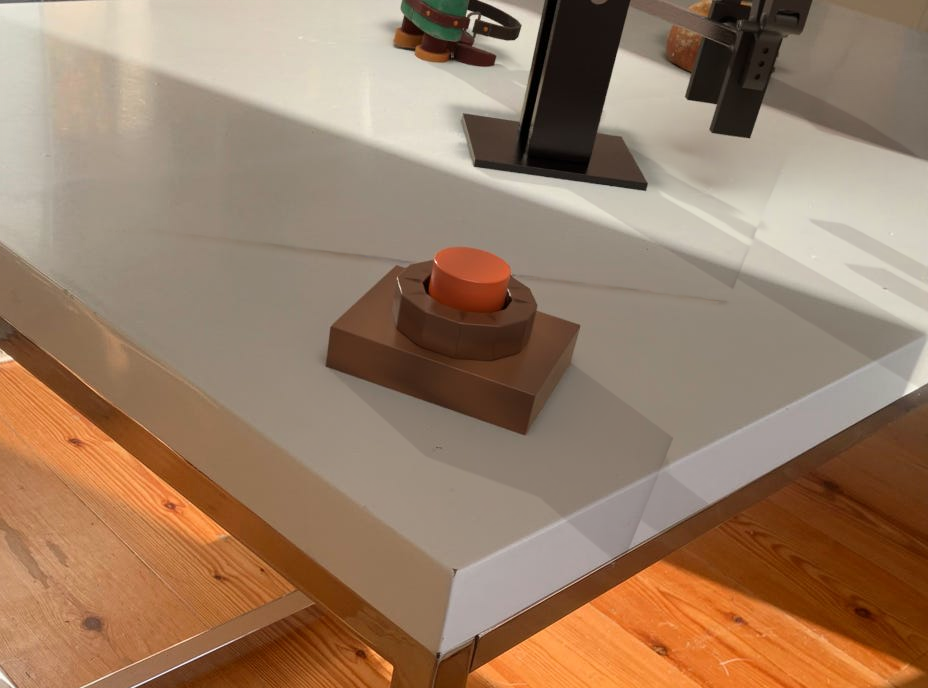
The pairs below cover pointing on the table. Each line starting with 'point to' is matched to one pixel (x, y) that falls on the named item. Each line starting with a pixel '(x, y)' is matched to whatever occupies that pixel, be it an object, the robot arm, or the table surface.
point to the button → (469, 280)
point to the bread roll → (688, 40)
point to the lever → (691, 20)
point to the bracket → (563, 103)
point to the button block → (454, 349)
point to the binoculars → (452, 30)
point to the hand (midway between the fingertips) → (716, 116)
